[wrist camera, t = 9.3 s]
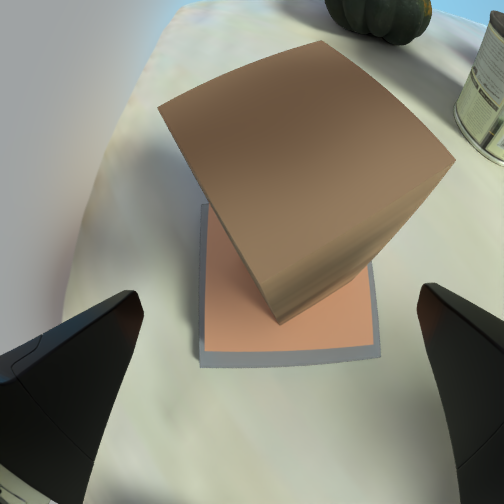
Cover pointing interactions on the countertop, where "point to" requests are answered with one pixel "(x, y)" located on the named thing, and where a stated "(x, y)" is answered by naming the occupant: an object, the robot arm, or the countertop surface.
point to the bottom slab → (277, 357)
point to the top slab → (260, 316)
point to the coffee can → (485, 95)
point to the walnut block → (305, 168)
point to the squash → (383, 17)
